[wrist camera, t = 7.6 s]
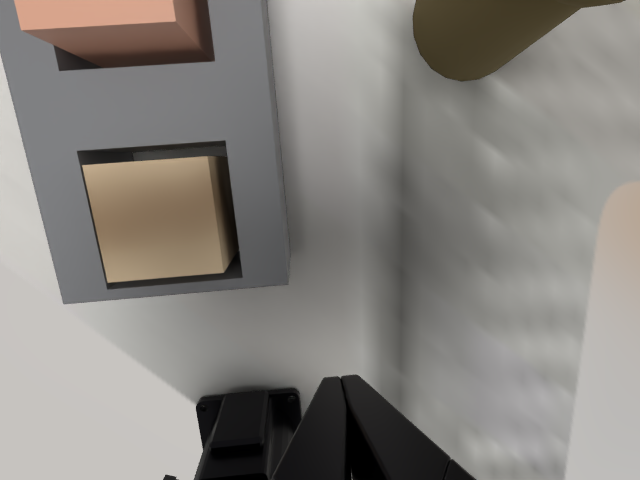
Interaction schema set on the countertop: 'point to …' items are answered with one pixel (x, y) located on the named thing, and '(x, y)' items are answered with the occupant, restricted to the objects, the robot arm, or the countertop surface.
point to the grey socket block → (152, 144)
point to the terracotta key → (122, 30)
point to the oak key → (163, 217)
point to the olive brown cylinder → (485, 31)
